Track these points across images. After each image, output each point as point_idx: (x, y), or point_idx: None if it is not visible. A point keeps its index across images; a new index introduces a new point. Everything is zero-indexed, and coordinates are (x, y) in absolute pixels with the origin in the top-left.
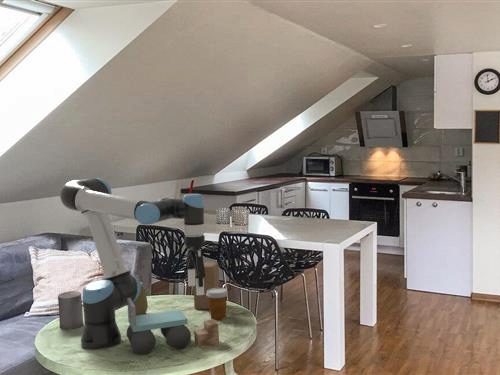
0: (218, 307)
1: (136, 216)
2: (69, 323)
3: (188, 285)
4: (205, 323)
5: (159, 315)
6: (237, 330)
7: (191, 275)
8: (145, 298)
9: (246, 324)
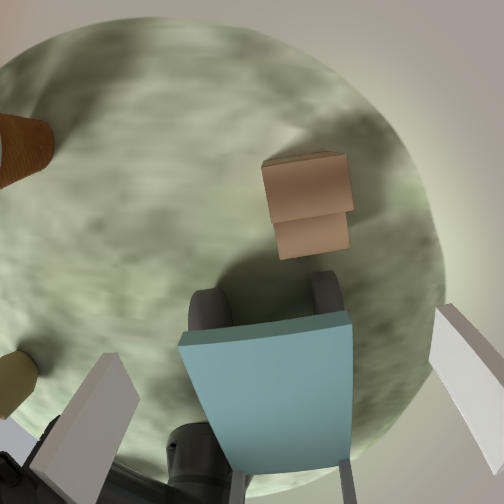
0: (26, 144)
1: None
2: None
3: (132, 402)
4: (304, 216)
5: (250, 417)
6: (180, 65)
7: (93, 449)
8: (1, 376)
9: (123, 36)
